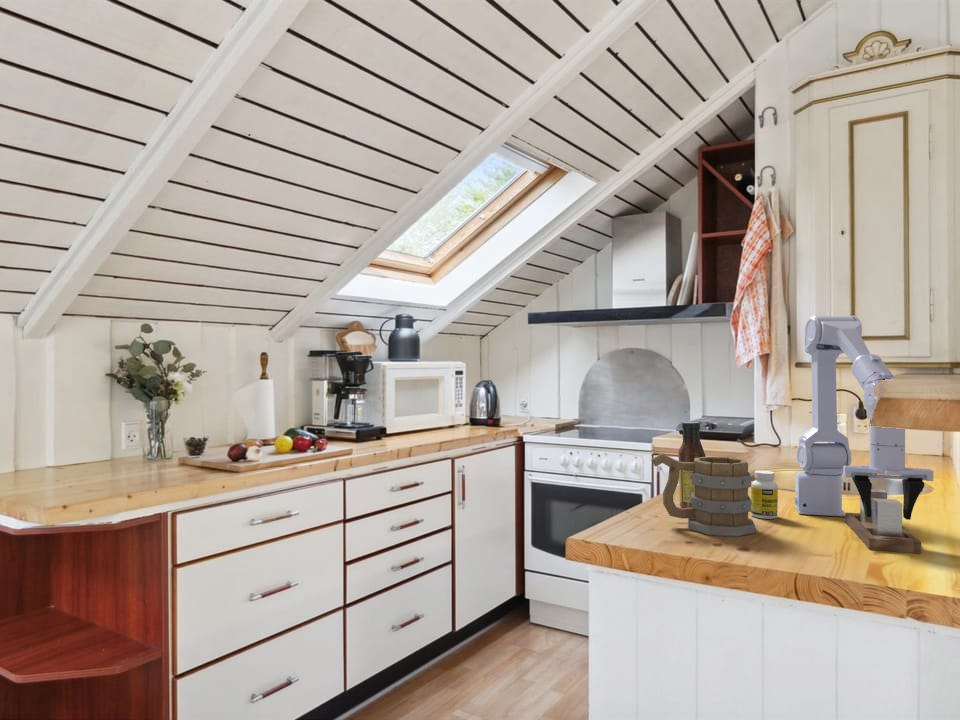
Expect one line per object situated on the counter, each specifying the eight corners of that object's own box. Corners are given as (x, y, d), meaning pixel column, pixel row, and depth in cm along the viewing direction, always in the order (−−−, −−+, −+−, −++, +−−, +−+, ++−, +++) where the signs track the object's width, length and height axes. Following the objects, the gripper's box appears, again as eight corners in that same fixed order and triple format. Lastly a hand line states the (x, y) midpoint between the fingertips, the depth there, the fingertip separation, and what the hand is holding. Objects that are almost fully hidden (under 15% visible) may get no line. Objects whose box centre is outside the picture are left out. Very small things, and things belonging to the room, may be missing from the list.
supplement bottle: (761, 520, 150) (761, 474, 149) (745, 514, 155) (745, 470, 155) (783, 518, 151) (783, 473, 151) (766, 513, 156) (766, 469, 156)
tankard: (750, 523, 147) (750, 452, 147) (757, 538, 135) (757, 460, 135) (652, 517, 152) (652, 448, 152) (650, 531, 140) (650, 456, 140)
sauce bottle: (713, 510, 159) (713, 422, 159) (690, 512, 157) (690, 423, 157) (694, 504, 165) (694, 420, 165) (672, 506, 163) (672, 421, 163)
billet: (877, 545, 129) (877, 502, 129) (872, 540, 133) (872, 498, 133) (902, 547, 128) (902, 503, 128) (896, 541, 132) (896, 499, 132)
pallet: (869, 549, 127) (869, 505, 127) (845, 522, 148) (845, 484, 148) (921, 553, 124) (921, 508, 124) (889, 524, 145) (889, 486, 145)
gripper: (848, 445, 129) (848, 519, 129) (938, 448, 125) (938, 524, 125) (841, 441, 136) (841, 511, 136) (926, 443, 131) (926, 516, 131)
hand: (887, 517), depth 131 cm, fingers open, 6 cm apart
